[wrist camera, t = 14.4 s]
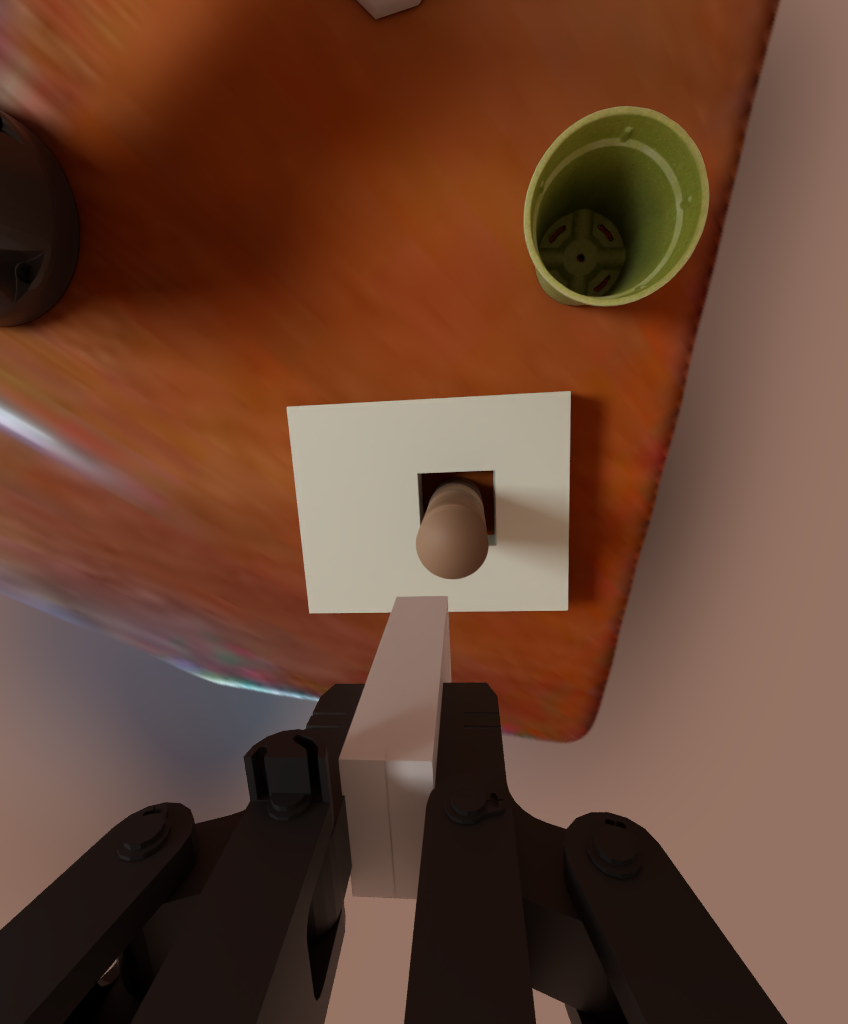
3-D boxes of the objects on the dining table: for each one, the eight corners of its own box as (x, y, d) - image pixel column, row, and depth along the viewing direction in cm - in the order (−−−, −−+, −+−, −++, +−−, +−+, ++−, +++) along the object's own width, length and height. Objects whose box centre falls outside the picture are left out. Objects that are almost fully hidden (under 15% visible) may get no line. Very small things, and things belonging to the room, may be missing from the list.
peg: (432, 527, 38) (417, 580, 27) (429, 477, 38) (412, 509, 26) (483, 526, 38) (490, 579, 26) (482, 475, 37) (488, 507, 26)
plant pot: (482, 265, 34) (487, 219, 26) (581, 150, 32) (622, 59, 23) (574, 358, 35) (608, 343, 26) (677, 252, 33) (750, 199, 24)
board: (320, 598, 41) (309, 613, 38) (300, 406, 37) (286, 406, 34) (560, 595, 39) (567, 610, 36) (562, 392, 35) (570, 391, 32)
